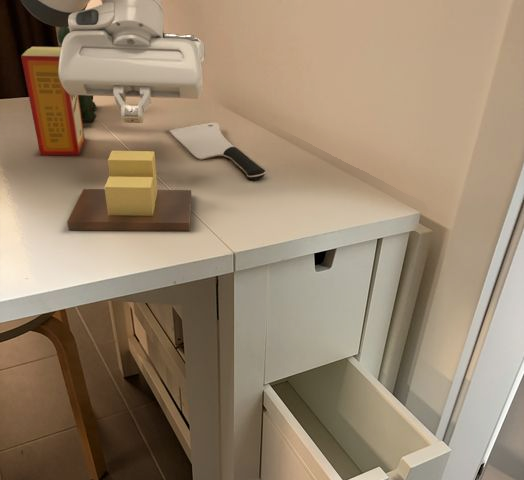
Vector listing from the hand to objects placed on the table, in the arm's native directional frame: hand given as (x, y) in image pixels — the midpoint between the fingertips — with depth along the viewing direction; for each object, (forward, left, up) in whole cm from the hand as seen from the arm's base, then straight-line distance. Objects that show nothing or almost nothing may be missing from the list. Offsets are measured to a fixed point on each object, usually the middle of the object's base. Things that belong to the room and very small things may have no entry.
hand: (132, 120), depth 79 cm
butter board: (0, -8, -11) cm, 13 cm away
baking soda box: (-16, +22, -11) cm, 30 cm away
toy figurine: (-17, +44, -11) cm, 48 cm away
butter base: (0, -5, -9) cm, 11 cm away
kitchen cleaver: (+12, +20, -11) cm, 26 cm away
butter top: (0, -7, -7) cm, 11 cm away
